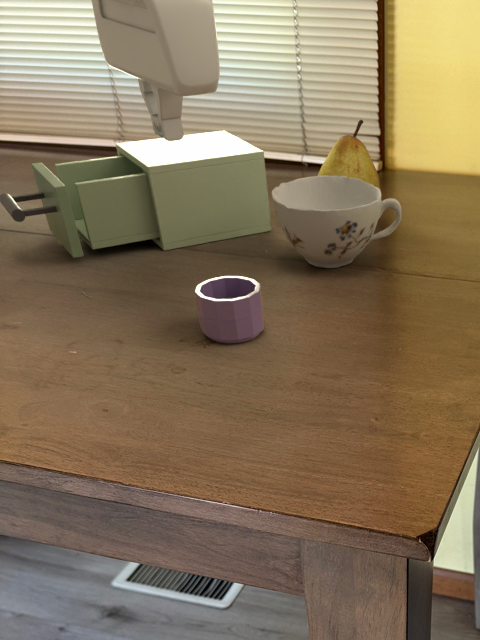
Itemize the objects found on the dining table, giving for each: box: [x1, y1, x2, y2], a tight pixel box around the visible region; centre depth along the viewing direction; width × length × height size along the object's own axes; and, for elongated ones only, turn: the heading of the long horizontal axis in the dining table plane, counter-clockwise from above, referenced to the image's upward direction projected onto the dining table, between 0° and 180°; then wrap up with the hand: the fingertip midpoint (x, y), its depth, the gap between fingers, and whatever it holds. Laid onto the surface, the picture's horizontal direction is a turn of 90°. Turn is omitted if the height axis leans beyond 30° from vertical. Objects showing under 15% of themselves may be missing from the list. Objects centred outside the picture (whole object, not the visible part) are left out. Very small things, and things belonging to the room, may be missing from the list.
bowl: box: [194, 275, 266, 344], centre depth 75 cm, size 6×6×4 cm
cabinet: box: [115, 130, 272, 252], centre depth 97 cm, size 15×13×10 cm
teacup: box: [271, 175, 402, 269], centre depth 89 cm, size 15×12×8 cm
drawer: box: [0, 155, 160, 259], centre depth 92 cm, size 18×11×8 cm, turn 123°
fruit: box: [317, 119, 381, 190], centre depth 99 cm, size 9×9×12 cm
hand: (169, 137), depth 68 cm, fingers closed
